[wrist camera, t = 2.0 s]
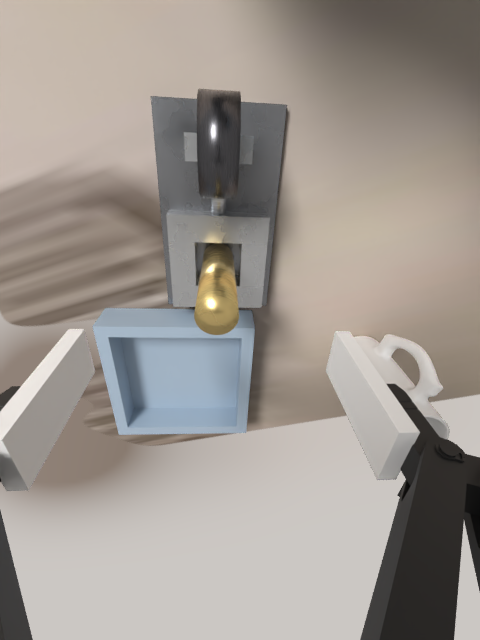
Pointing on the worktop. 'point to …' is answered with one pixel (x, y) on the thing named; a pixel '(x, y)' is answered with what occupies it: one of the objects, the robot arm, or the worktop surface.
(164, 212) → the tensioner
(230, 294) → the pin
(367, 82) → the worktop surface
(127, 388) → the tray
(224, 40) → the worktop surface
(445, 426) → the mug
